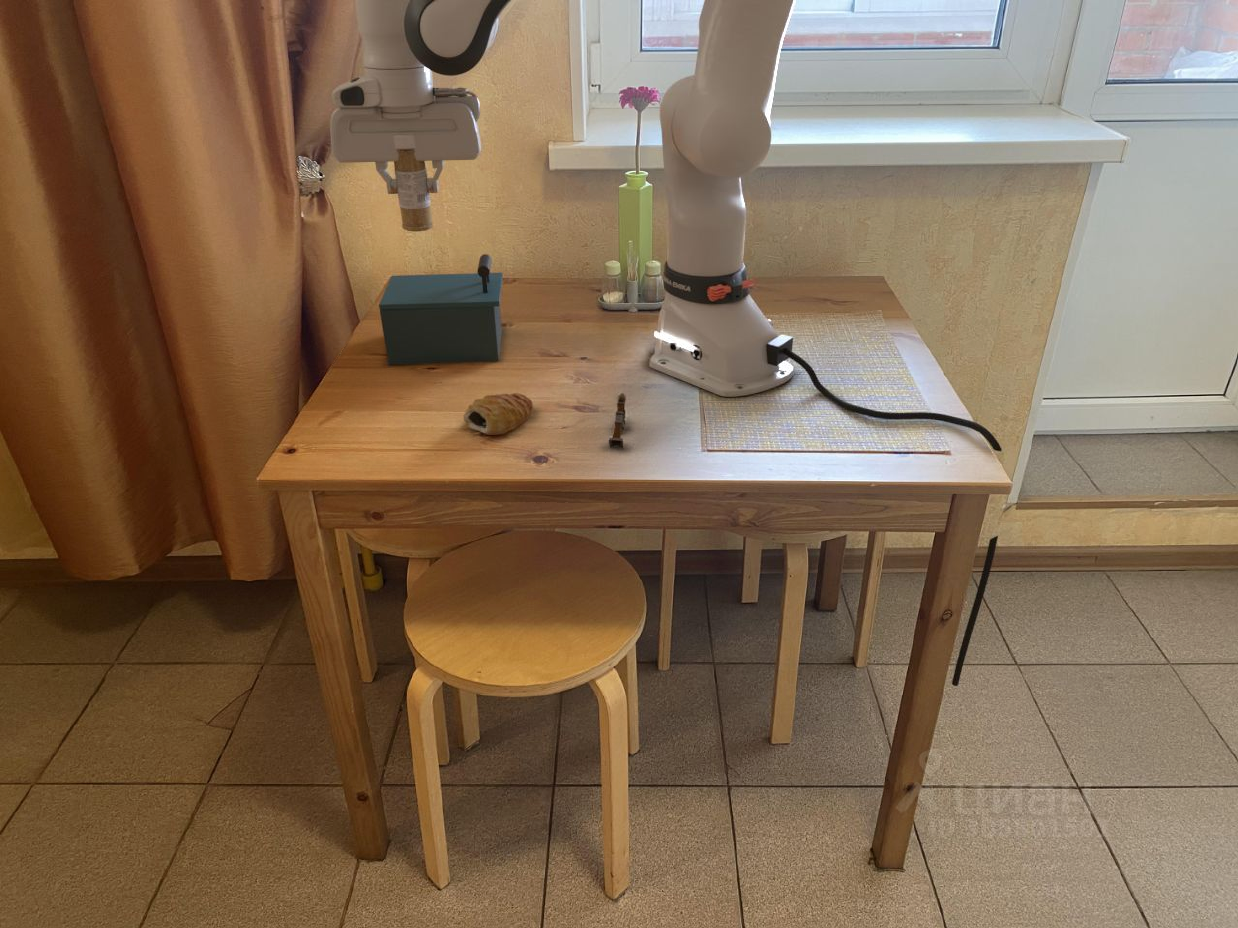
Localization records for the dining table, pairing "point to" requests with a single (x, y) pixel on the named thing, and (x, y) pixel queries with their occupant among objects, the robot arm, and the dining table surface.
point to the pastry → (498, 413)
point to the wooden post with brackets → (618, 424)
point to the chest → (442, 335)
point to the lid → (444, 289)
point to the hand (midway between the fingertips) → (413, 192)
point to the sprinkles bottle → (412, 186)
